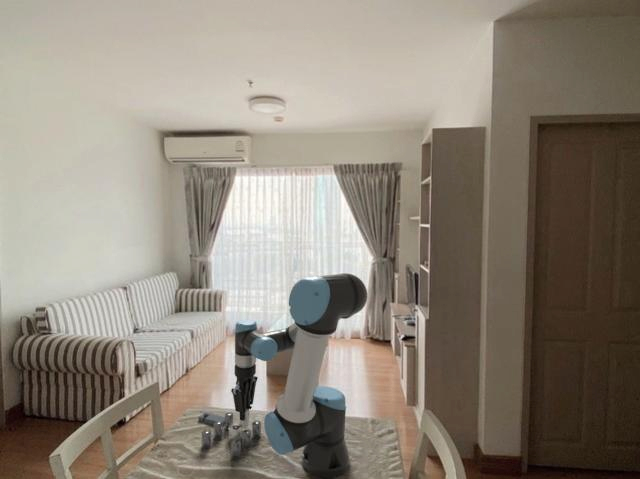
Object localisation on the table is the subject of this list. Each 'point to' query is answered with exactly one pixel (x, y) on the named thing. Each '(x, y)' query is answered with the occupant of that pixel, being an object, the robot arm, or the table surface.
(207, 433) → the spacer field
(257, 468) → the table surface
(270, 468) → the table surface
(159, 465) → the table surface
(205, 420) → the bracket
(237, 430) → the silver metal cylinder
